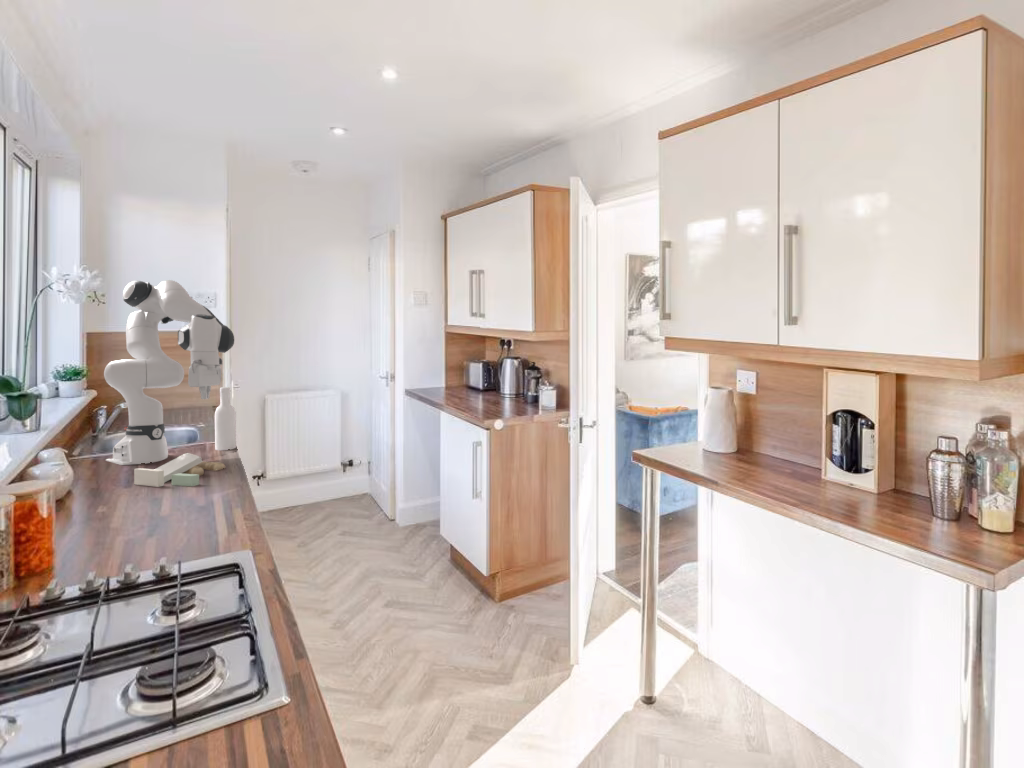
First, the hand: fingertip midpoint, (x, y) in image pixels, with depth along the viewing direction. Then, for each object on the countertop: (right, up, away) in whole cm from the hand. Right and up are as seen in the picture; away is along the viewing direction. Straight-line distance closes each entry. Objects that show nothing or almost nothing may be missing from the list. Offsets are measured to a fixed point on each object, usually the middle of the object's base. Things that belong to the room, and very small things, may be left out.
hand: (205, 398), depth 208 cm
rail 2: (0, -27, +1) cm, 27 cm away
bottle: (-8, -26, +32) cm, 42 cm away
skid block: (+4, -28, -19) cm, 34 cm away
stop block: (-8, -27, -19) cm, 34 cm away
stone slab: (-5, -24, -9) cm, 26 cm away
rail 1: (-3, -27, -7) cm, 28 cm away
